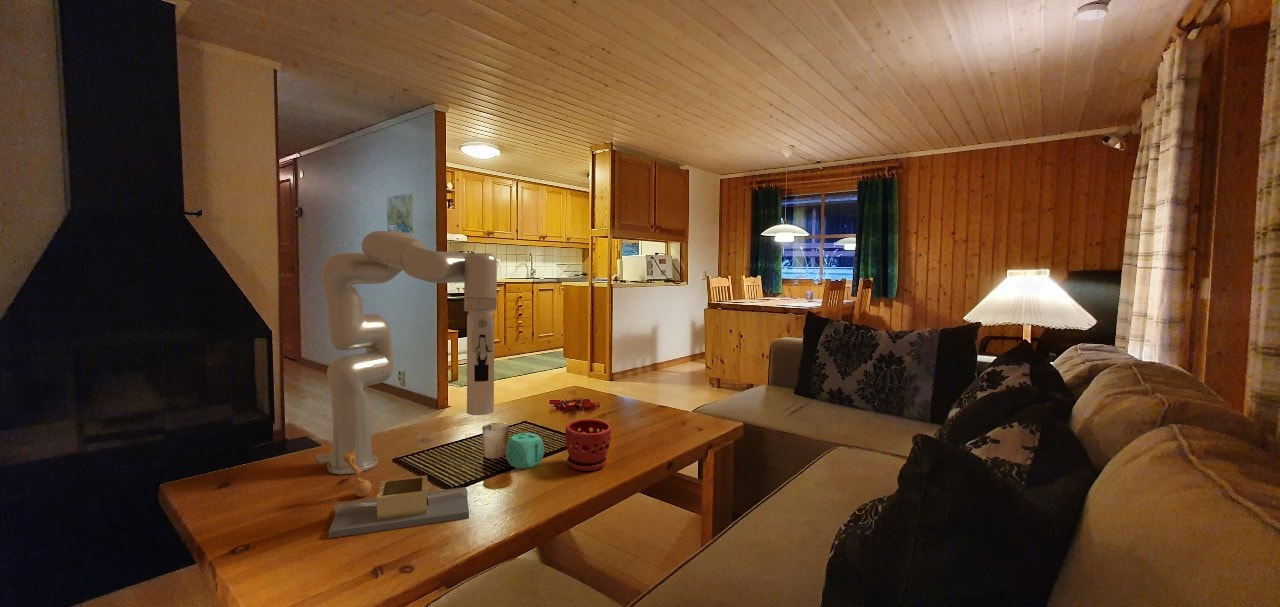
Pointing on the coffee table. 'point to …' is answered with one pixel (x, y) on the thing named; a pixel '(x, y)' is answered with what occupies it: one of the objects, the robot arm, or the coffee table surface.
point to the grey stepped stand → (401, 499)
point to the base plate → (369, 523)
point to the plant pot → (587, 444)
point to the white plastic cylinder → (483, 391)
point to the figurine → (357, 476)
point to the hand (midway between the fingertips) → (480, 377)
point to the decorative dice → (524, 450)
